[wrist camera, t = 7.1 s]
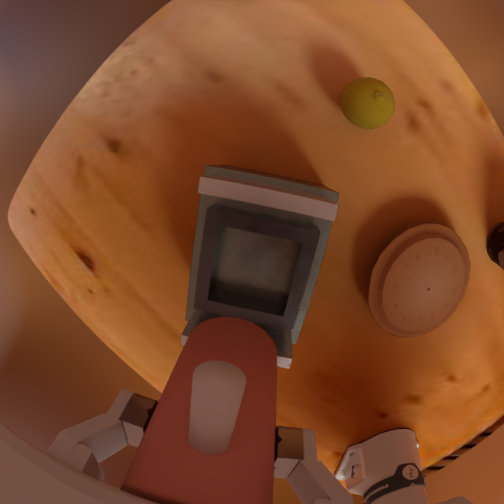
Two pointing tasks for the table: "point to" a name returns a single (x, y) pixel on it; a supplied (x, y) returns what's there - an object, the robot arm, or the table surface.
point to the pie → (418, 280)
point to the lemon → (367, 103)
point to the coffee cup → (496, 244)
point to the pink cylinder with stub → (213, 421)
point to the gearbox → (258, 251)
